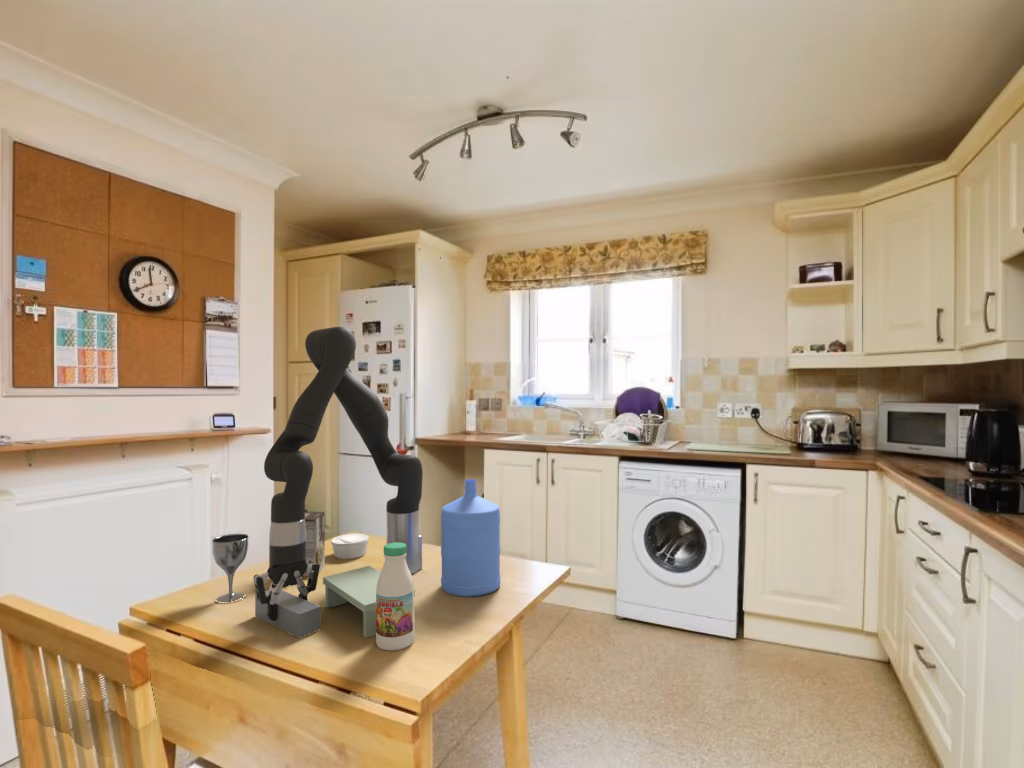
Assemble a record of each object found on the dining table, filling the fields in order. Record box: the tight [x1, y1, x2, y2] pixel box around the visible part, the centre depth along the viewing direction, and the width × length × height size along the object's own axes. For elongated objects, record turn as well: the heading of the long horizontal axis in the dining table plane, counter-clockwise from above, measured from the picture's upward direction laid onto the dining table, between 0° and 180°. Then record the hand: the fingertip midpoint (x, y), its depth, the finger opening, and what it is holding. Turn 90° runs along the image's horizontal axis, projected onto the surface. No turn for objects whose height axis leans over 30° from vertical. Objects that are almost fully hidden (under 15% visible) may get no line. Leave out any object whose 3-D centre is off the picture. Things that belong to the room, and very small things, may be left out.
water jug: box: [440, 478, 502, 598], centre depth 136 cm, size 16×16×28 cm
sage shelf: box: [322, 565, 416, 639], centre depth 119 cm, size 12×22×7 cm, turn 42°
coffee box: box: [302, 511, 326, 577], centre depth 148 cm, size 9×6×16 cm
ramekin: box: [330, 533, 370, 560], centre depth 162 cm, size 11×11×5 cm
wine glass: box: [211, 533, 249, 602], centre depth 129 cm, size 8×8×15 cm
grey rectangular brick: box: [254, 589, 322, 639], centre depth 115 cm, size 5×18×5 cm, turn 54°
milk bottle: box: [375, 542, 415, 652], centre depth 106 cm, size 8×8×20 cm
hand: (287, 615), depth 115 cm, fingers closed on grey rectangular brick, 5 cm apart
